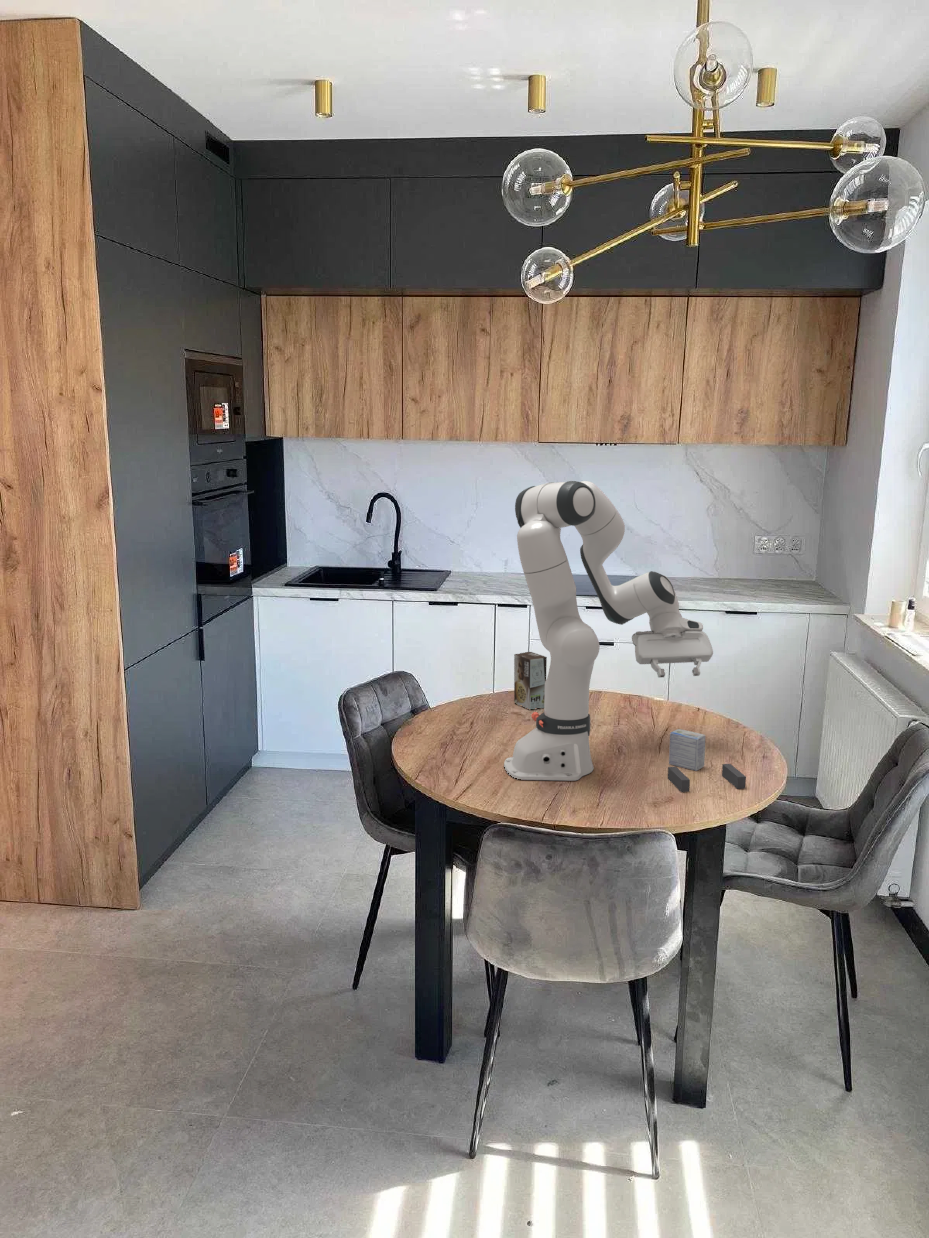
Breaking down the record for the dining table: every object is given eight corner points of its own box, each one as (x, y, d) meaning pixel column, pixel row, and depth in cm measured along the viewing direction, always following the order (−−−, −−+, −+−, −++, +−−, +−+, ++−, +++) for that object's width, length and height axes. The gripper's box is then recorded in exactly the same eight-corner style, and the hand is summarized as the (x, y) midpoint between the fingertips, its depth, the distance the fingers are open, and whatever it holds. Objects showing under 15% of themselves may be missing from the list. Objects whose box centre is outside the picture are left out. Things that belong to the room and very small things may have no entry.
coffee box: (546, 707, 289) (547, 656, 286) (529, 710, 286) (530, 659, 283) (530, 700, 297) (530, 650, 293) (513, 703, 293) (513, 653, 290)
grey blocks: (681, 792, 221) (681, 780, 221) (667, 778, 230) (668, 766, 230) (745, 788, 224) (746, 776, 223) (729, 775, 232) (730, 763, 232)
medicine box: (704, 767, 238) (706, 734, 236) (696, 771, 235) (698, 738, 233) (676, 759, 243) (678, 728, 242) (668, 764, 240) (669, 732, 238)
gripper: (633, 625, 246) (643, 671, 239) (707, 622, 249) (720, 668, 241) (627, 638, 252) (637, 683, 244) (701, 635, 254) (713, 680, 247)
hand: (679, 675), depth 243 cm, fingers open, 8 cm apart
